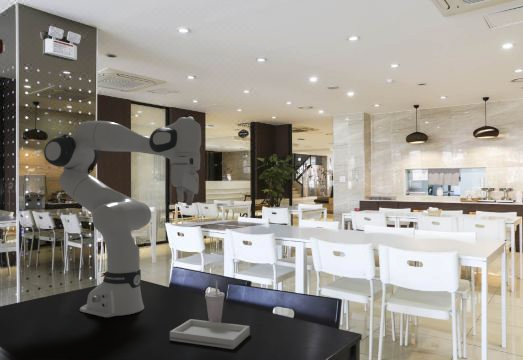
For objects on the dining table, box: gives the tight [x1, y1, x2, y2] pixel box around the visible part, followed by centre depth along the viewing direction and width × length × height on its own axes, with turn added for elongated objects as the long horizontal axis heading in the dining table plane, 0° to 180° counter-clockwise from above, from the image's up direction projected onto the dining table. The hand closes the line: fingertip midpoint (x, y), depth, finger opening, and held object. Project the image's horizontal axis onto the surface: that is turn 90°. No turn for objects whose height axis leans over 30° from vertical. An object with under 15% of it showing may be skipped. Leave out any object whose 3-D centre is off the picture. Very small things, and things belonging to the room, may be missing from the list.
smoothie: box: [204, 280, 226, 323], centre depth 134 cm, size 6×6×14 cm
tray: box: [169, 318, 251, 350], centre depth 123 cm, size 20×12×2 cm, turn 70°
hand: (185, 203), depth 142 cm, fingers open, 8 cm apart
